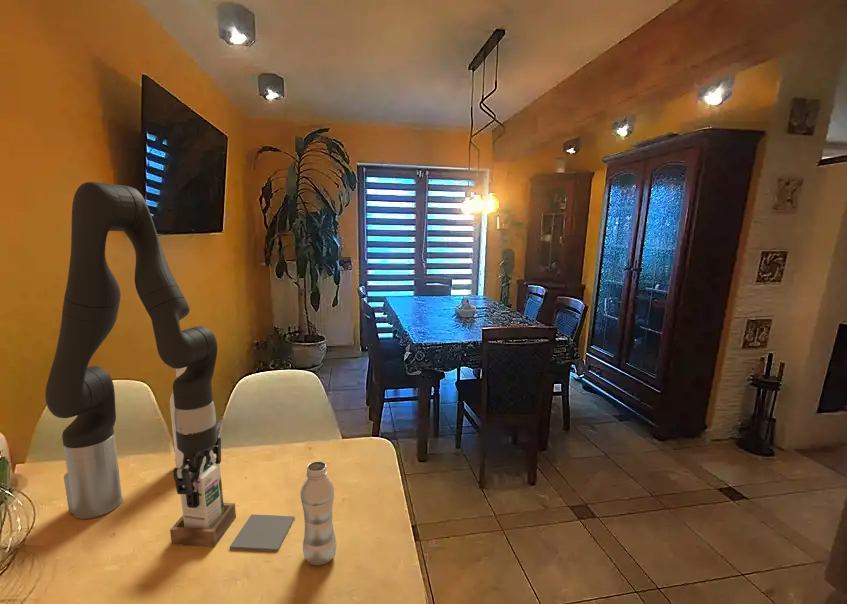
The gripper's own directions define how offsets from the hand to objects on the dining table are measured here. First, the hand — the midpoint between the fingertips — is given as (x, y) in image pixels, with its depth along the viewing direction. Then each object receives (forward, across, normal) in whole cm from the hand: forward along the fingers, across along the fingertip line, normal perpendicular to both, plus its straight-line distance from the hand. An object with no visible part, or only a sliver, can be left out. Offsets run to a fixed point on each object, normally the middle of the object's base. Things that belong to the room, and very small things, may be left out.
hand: (202, 496), depth 93 cm
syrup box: (+8, 0, 0) cm, 8 cm away
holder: (+8, 0, 0) cm, 8 cm away
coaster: (+8, 0, +13) cm, 15 cm away
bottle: (+8, -24, -17) cm, 31 cm away
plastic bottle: (+8, +6, +27) cm, 29 cm away
